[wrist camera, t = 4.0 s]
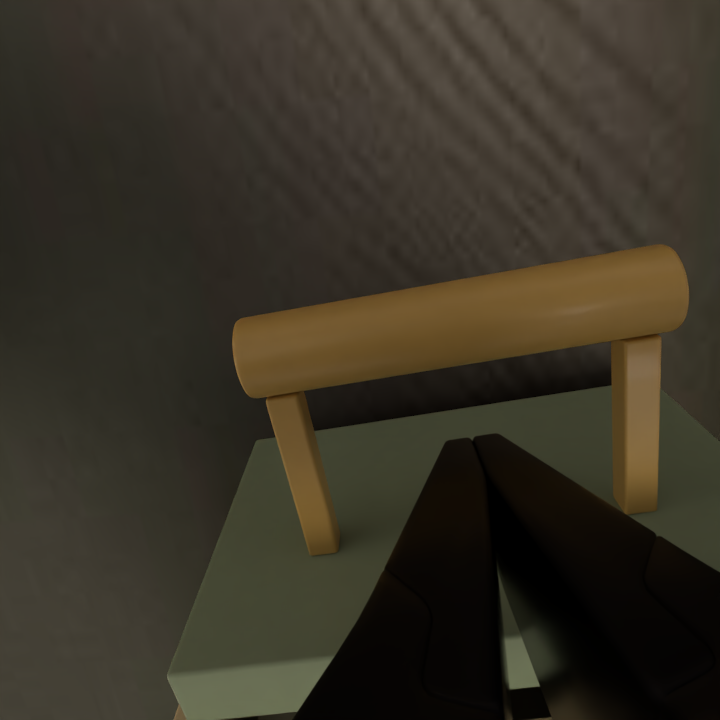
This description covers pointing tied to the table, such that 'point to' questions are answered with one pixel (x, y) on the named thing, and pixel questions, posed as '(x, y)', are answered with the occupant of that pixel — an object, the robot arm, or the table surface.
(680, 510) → the green drawer
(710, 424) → the table surface
